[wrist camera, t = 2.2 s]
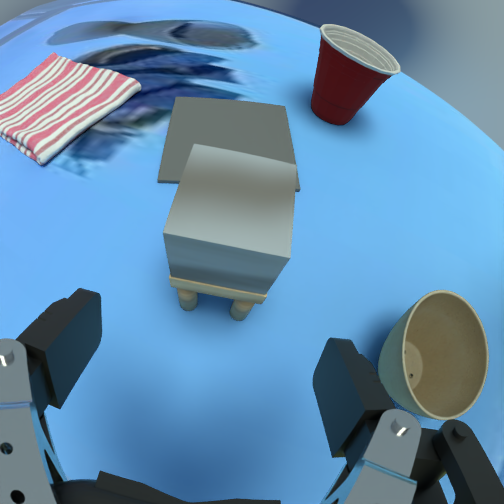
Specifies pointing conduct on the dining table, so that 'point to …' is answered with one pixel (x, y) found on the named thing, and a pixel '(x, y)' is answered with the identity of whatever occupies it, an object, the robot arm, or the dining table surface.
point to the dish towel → (59, 105)
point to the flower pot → (436, 357)
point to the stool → (230, 227)
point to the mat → (225, 132)
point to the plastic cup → (348, 73)
